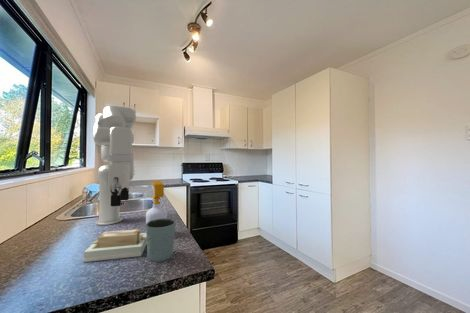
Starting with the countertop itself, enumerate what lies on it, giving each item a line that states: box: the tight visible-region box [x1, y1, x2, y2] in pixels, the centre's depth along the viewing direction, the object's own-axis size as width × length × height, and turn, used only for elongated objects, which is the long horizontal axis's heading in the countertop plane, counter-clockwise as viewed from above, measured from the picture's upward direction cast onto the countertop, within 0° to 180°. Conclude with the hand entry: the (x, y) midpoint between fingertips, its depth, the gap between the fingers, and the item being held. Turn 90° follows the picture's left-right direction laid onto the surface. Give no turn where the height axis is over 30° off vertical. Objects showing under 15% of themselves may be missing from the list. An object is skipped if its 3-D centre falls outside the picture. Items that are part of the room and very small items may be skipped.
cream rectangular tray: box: [82, 232, 147, 263], centre depth 76 cm, size 15×18×4 cm
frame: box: [97, 228, 141, 248], centre depth 76 cm, size 6×13×5 cm, turn 104°
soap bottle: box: [145, 180, 168, 224], centre depth 91 cm, size 9×9×25 cm
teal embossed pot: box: [145, 217, 177, 263], centre depth 71 cm, size 10×10×12 cm
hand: (120, 202), depth 77 cm, fingers open, 9 cm apart
